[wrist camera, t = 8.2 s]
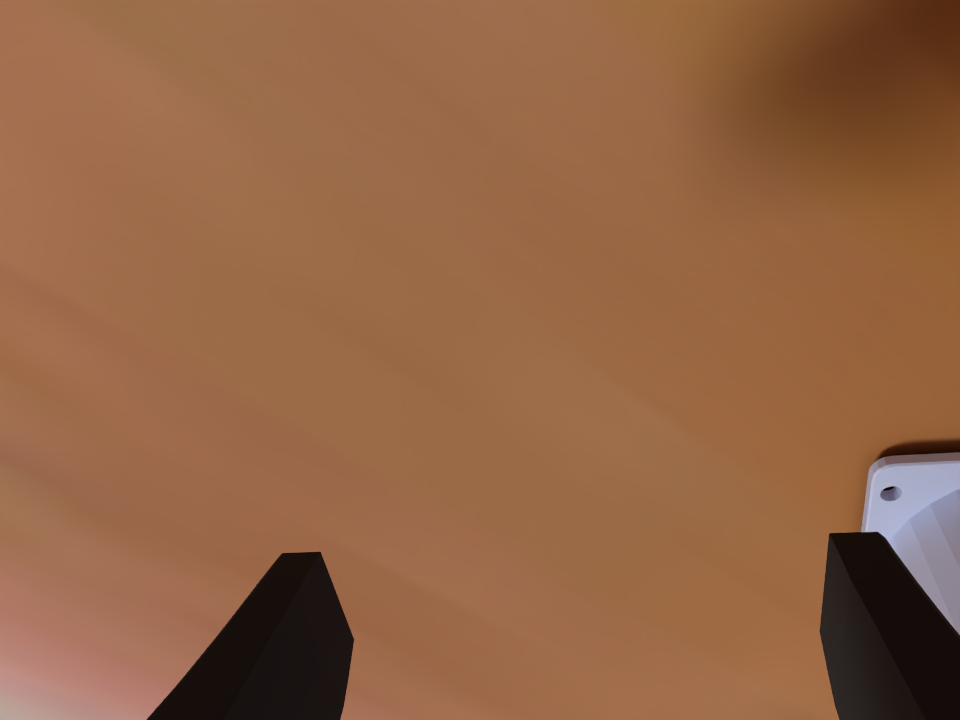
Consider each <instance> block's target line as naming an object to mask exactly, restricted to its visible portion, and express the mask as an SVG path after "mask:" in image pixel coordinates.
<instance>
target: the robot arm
mask: <svg viewBox="0 0 960 720" xmlns="http://www.w3.org/2000/svg"><path fill="white" fill-rule="evenodd" d="M891 486H894V488H893V489H891V490H887V491H884V490H883V489H885V488H887V487H891ZM820 635H821V640H822V645H823V650H824V655H825V660H826V665H827V670H828V675H829V679H830V684H831V689H832V693H833V698H834V703H835V707H836V710H837V713H838V716H839V719H840V720H960V452H957V453H937V454H917V455H898V456H888V457H883V458H881V459H879V460H877V461H875V462H874V463H873V464H872V465H871V467H870V469H869V473H868V481H867V489H866V497H865V505H864V513H863V521H862V529H861V532H855V533H829V542H828V552H827V563H826V573H825V583H824V594H823V604H822V614H821V625H820ZM353 642H354V638H353V636H352V633H351V631H350V628H349V625H348V623H347V620H346V617H345V615H344V612H343V610H342V607H341V604H340V602H339V599H338V596H337V594H336V591H335V589H334V586H333V583H332V581H331V578H330V575H329V573H328V570H327V568H326V565H325V562H324V560H323V557H322V555H321V552H304V553H282V554H281V555H280V556H279V558H278V559H277V560H276V561H275V562H274V564H273V565H272V566H271V568H270V569H269V570H268V571H267V573H266V574H265V575H264V576H263V578H262V579H261V580H260V582H259V583H258V584H257V585H256V587H255V588H254V589H253V591H252V592H251V593H250V595H249V596H248V597H247V598H246V600H245V601H244V602H243V604H242V605H241V606H240V607H239V609H238V610H237V611H236V613H235V614H234V615H233V616H232V618H231V619H230V620H229V622H228V623H227V624H226V625H225V627H224V628H223V629H222V630H221V632H220V633H219V634H218V636H217V637H216V638H215V639H214V640H213V642H212V643H211V644H210V645H209V647H208V648H207V649H206V650H205V651H204V653H203V654H202V655H201V656H200V658H199V659H198V660H197V661H196V663H195V664H194V665H193V666H192V667H191V669H190V670H189V671H188V672H187V674H186V675H185V676H184V677H183V678H182V680H181V681H180V682H179V683H178V684H177V686H176V687H175V688H174V689H173V690H172V691H171V692H170V694H169V695H168V696H167V697H166V698H165V699H164V700H163V702H162V703H161V704H160V705H159V706H158V707H157V708H156V709H155V711H154V712H153V713H152V714H151V715H150V716H149V717H148V719H147V720H340V718H341V714H342V710H343V707H344V701H345V695H346V689H347V683H348V677H349V670H350V663H351V656H352V649H353Z"/></svg>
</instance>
